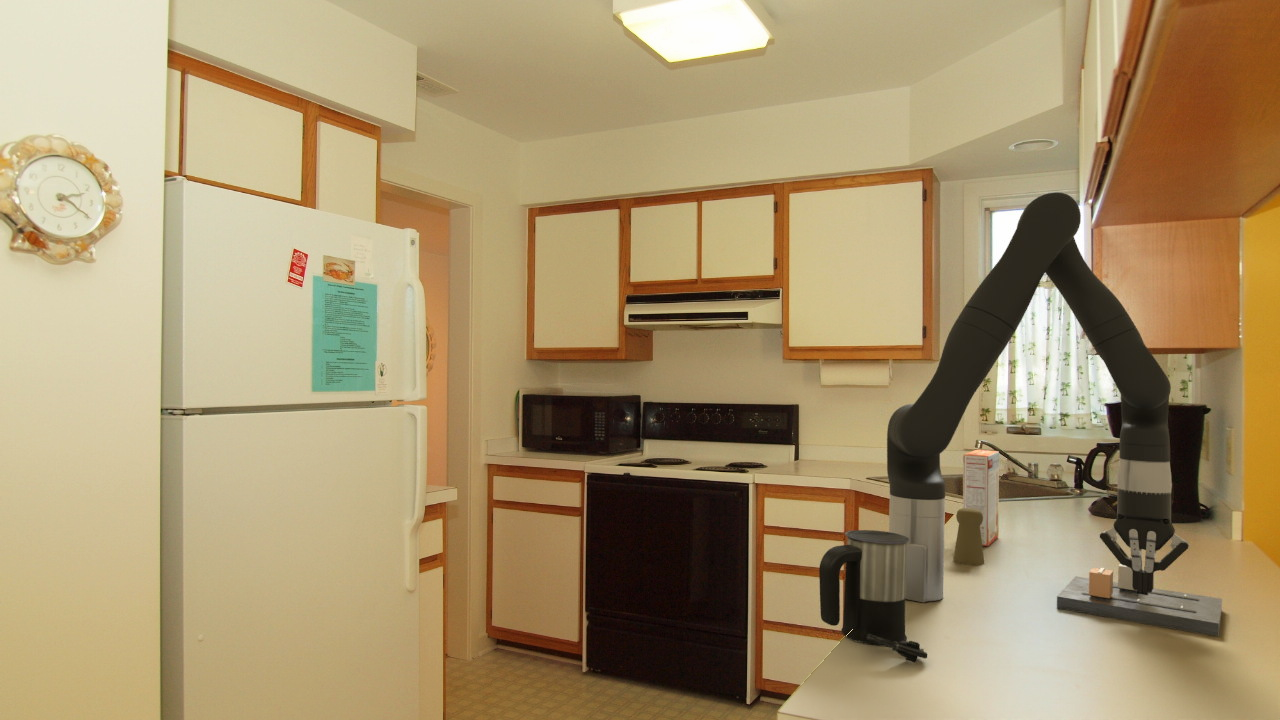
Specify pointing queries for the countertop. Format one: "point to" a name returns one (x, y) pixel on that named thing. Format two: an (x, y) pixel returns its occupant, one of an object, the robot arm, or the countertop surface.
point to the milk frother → (869, 590)
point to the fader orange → (1101, 582)
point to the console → (1146, 607)
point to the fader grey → (1125, 577)
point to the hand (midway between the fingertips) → (1143, 593)
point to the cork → (969, 537)
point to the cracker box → (983, 490)
